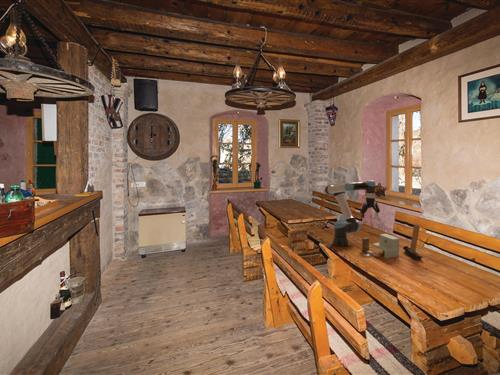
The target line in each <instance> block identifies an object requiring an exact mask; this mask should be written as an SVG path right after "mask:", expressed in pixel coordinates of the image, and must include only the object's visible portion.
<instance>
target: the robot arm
mask: <svg viewBox="0 0 500 375" xmlns="http://www.w3.org/2000/svg"><path fill="white" fill-rule="evenodd" d="M323 190H324V193H325V194H326V195H327V196H328V197H330V196H333V197H334V198H335V199H336V201H337V204H338V205H339V206H338V207H339V208H340V211H341V214H342V216H343V218H344V220H343V219H342V220H341V219H340V220H336V221H335V222H334V237H333V240H332V245H334V246H337V247H341V248H342V247H347V246H349V240H348V234H353V233H357V232H359V231H360V229H361V222H360V221H359V220H357V219H356V217H354V216H353V213H352V211H351V208H350V207H349V203H348V201H347V198H346V197H345V196H346V193H347V192H351V191H352V192H355V191H365V202H363V203H362V207H361V208H360V211H359V213H360V214H361V219H362V222H366V212H367V211H368V209H370V208H372V209H373V210H374V220H376V221H377V220H378V216H379V213H380V212H381V210H380V207H379V204H378V202H377V201H376V181H375V180H366V181H361V180H360V181H356V182H346V183H343V184H341V183H335V184H327V185H326V186H325V187H324V189H323Z"/></svg>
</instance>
